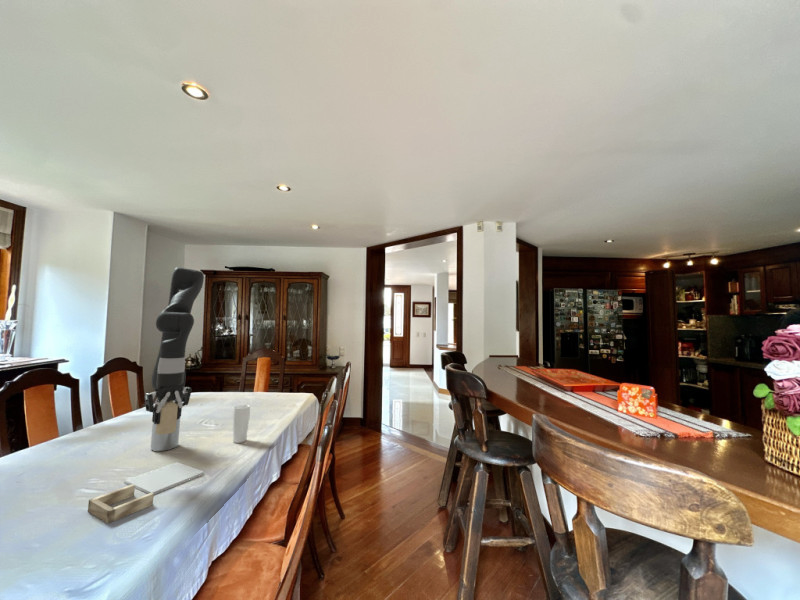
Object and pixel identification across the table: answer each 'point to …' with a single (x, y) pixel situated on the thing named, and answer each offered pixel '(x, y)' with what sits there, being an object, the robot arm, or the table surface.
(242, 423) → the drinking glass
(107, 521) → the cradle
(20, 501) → the table surface
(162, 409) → the candle
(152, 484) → the plate
